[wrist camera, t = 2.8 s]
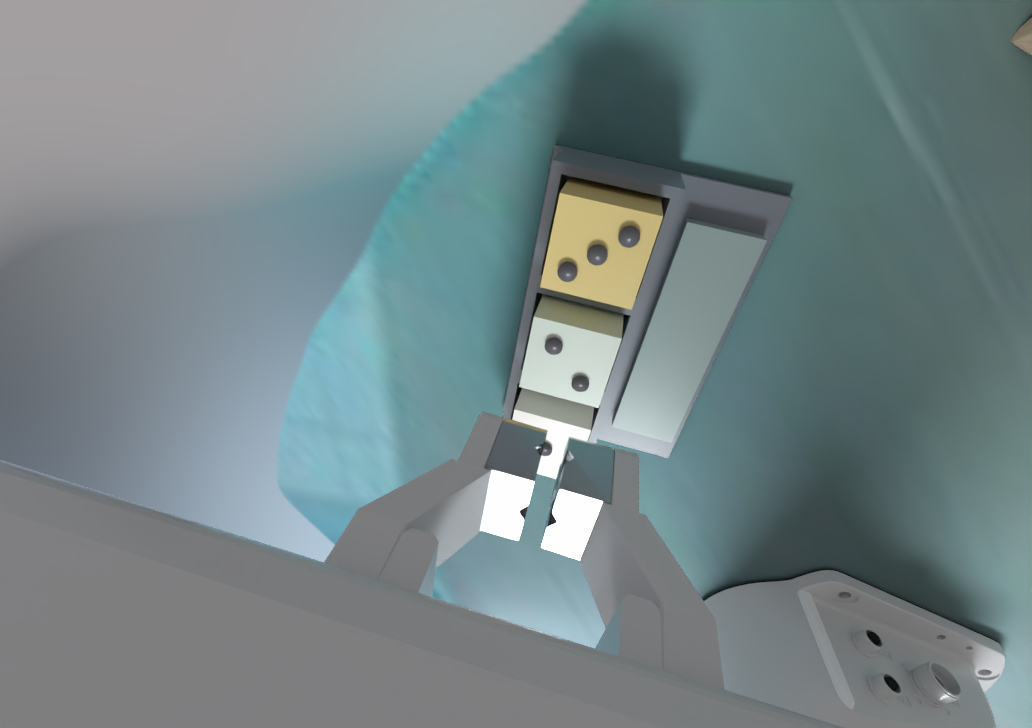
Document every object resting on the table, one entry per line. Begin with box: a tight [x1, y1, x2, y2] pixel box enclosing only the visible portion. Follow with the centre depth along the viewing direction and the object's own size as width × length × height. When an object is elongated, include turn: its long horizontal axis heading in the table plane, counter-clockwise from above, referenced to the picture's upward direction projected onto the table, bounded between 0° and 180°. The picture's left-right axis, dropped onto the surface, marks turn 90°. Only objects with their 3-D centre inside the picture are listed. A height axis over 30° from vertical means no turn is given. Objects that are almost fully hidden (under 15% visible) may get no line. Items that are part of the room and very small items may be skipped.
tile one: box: [512, 388, 594, 479], centre depth 29 cm, size 4×4×4 cm
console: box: [503, 144, 793, 458], centre depth 28 cm, size 12×18×4 cm, turn 171°
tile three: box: [540, 176, 663, 310], centre depth 23 cm, size 4×4×4 cm
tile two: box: [519, 294, 624, 408], centre depth 26 cm, size 4×4×4 cm
